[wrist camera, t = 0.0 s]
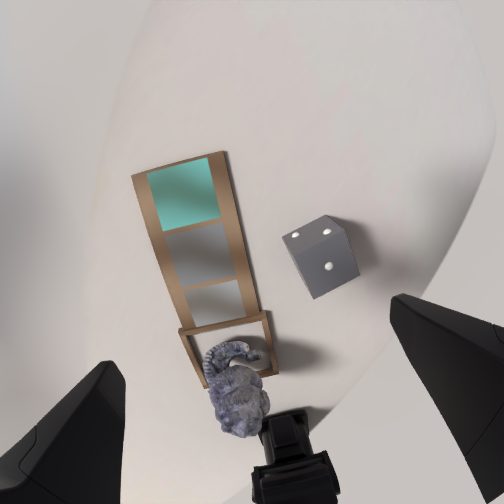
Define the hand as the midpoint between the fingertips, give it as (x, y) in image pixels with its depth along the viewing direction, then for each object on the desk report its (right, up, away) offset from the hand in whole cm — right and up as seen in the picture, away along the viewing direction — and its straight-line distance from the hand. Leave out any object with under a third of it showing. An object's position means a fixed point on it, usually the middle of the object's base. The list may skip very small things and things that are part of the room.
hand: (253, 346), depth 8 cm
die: (+5, +3, +16) cm, 17 cm away
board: (-4, +3, +15) cm, 16 cm away
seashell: (-2, -7, +19) cm, 21 cm away
